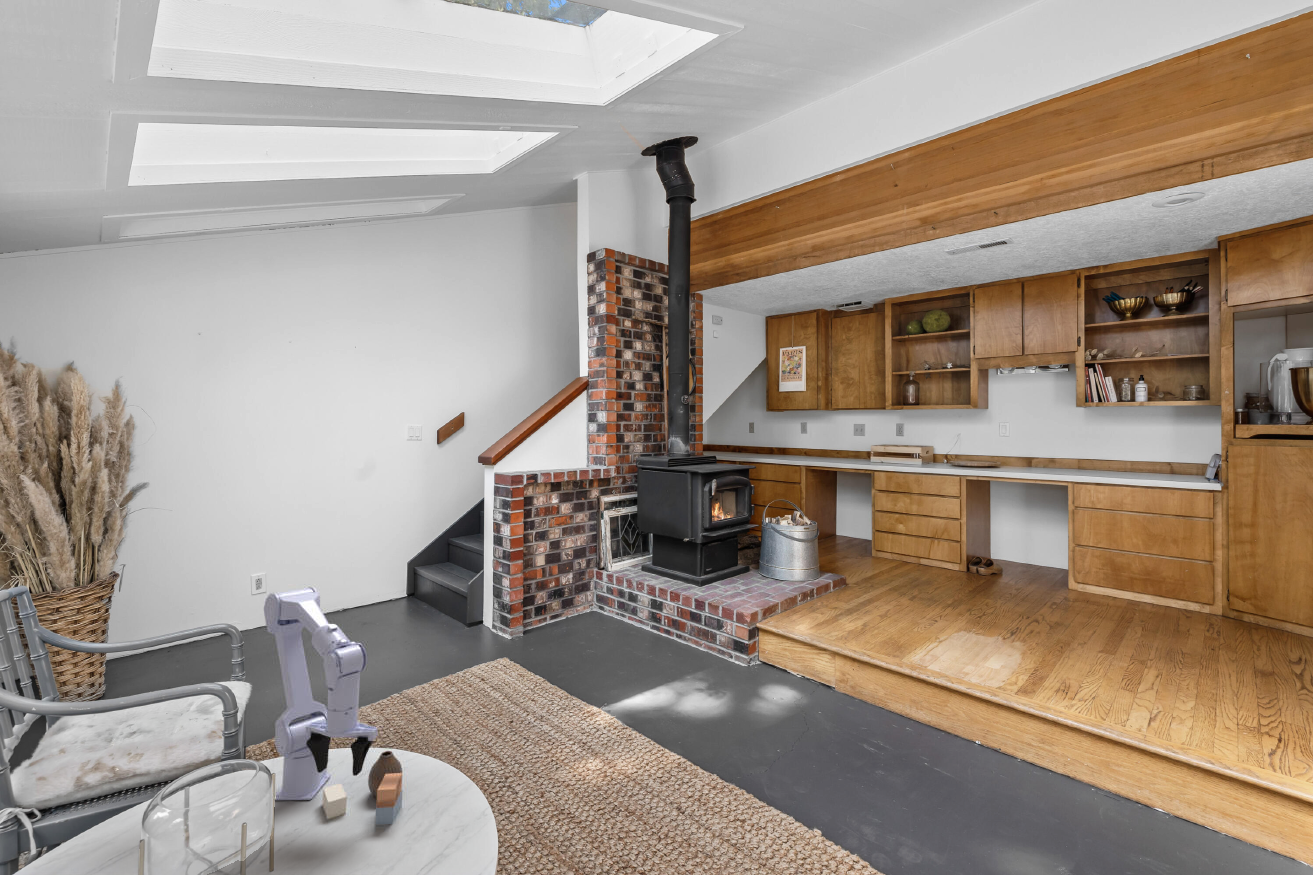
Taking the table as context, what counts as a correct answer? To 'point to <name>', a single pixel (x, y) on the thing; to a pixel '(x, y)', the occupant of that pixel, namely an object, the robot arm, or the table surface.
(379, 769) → the vase
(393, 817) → the slate brick
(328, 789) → the cream brick
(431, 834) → the table surface
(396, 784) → the terracotta brick
